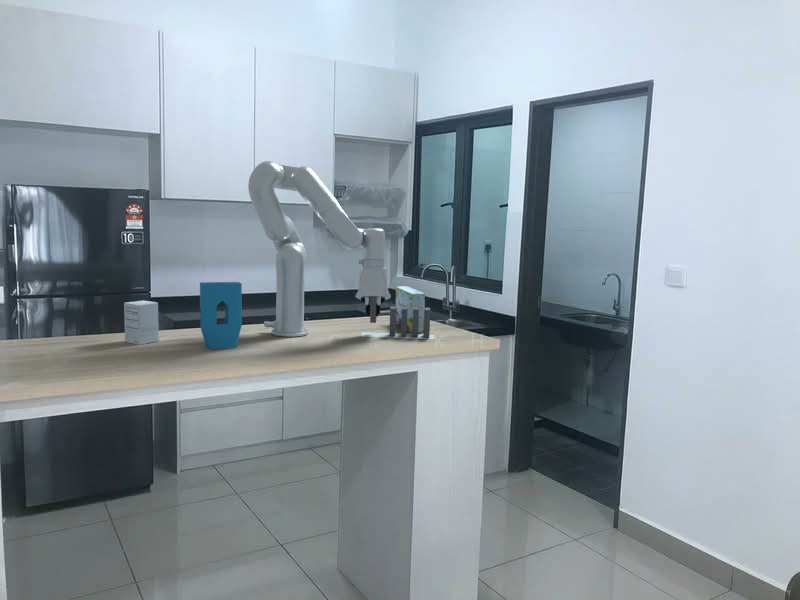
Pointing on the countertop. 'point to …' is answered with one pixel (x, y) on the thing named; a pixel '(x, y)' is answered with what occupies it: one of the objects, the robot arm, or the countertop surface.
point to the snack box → (410, 305)
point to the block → (209, 299)
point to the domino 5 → (426, 323)
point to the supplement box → (141, 322)
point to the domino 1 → (373, 309)
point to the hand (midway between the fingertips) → (372, 315)
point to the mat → (386, 335)
